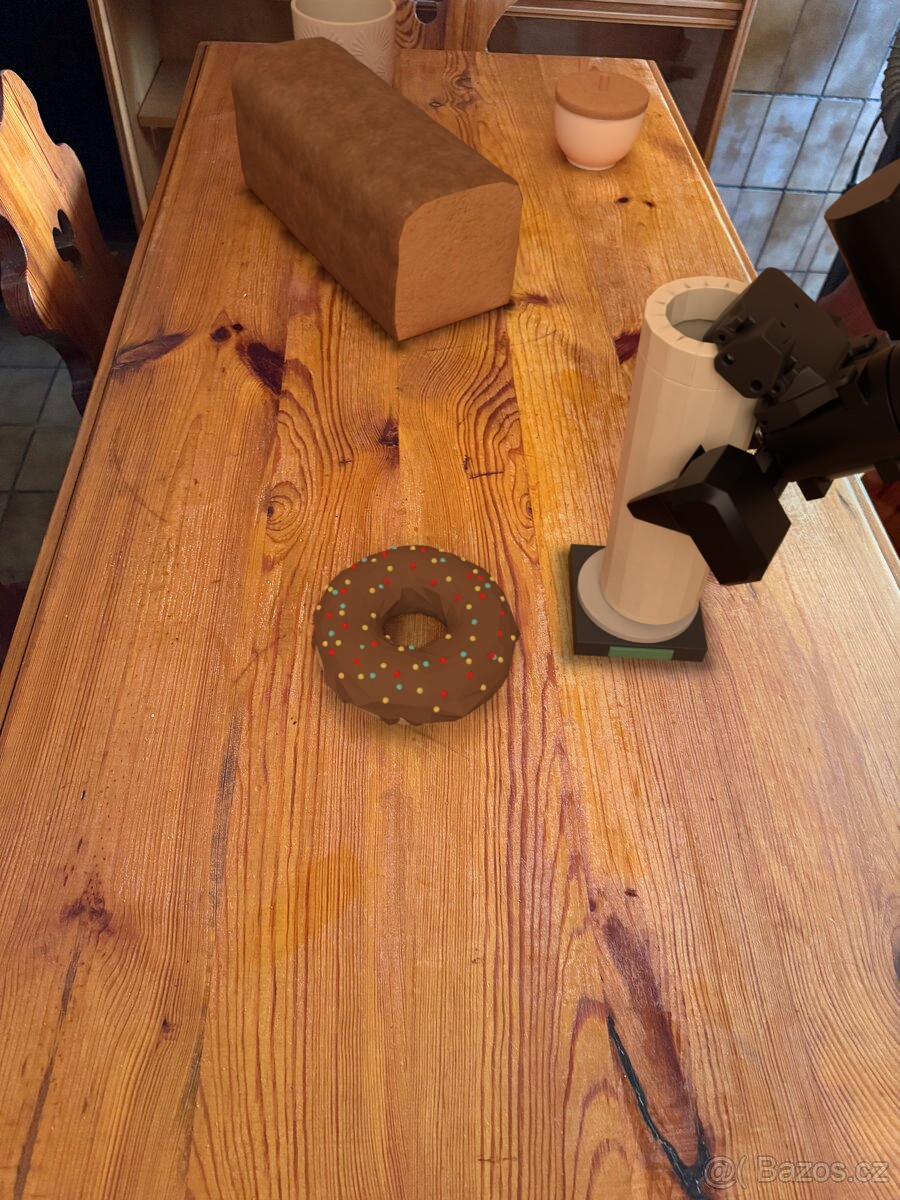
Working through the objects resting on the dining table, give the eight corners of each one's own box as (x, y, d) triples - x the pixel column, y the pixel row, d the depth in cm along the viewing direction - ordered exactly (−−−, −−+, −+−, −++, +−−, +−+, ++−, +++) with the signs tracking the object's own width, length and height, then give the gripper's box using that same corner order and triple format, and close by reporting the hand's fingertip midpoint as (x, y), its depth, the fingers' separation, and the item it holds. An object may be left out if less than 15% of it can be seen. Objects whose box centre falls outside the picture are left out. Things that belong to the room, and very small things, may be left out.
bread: (393, 350, 82) (393, 201, 71) (239, 185, 99) (219, 44, 88) (517, 308, 87) (535, 162, 76) (350, 158, 104) (345, 21, 93)
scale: (702, 664, 62) (711, 646, 60) (573, 657, 62) (578, 639, 60) (685, 564, 67) (693, 545, 66) (567, 557, 67) (572, 538, 66)
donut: (291, 604, 63) (284, 559, 59) (469, 558, 67) (474, 512, 63) (350, 776, 55) (346, 736, 51) (549, 713, 59) (560, 671, 55)
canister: (698, 632, 60) (785, 364, 43) (594, 616, 61) (638, 348, 44) (703, 555, 64) (785, 282, 47) (606, 541, 65) (650, 269, 48)
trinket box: (566, 130, 111) (578, 47, 104) (647, 152, 109) (665, 68, 101) (532, 165, 105) (543, 80, 98) (617, 189, 103) (634, 103, 95)
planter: (368, 74, 119) (366, -22, 110) (413, 112, 112) (415, 14, 104) (282, 90, 114) (273, -8, 106) (324, 130, 108) (318, 30, 100)
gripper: (901, 172, 45) (656, 292, 57) (773, 353, 35) (509, 452, 47) (981, 357, 49) (735, 433, 61) (886, 568, 39) (614, 609, 51)
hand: (656, 474), depth 55 cm, fingers closed on canister, 7 cm apart
